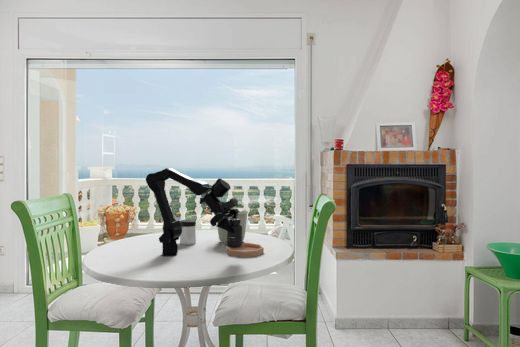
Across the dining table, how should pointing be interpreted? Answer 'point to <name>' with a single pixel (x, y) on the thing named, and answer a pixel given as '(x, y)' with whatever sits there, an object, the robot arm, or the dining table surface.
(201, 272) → the dining table surface
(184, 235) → the jar
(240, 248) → the terracotta octagonal tray
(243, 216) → the canister
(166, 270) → the dining table surface
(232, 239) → the supplement bottle
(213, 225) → the robot arm
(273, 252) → the dining table surface
